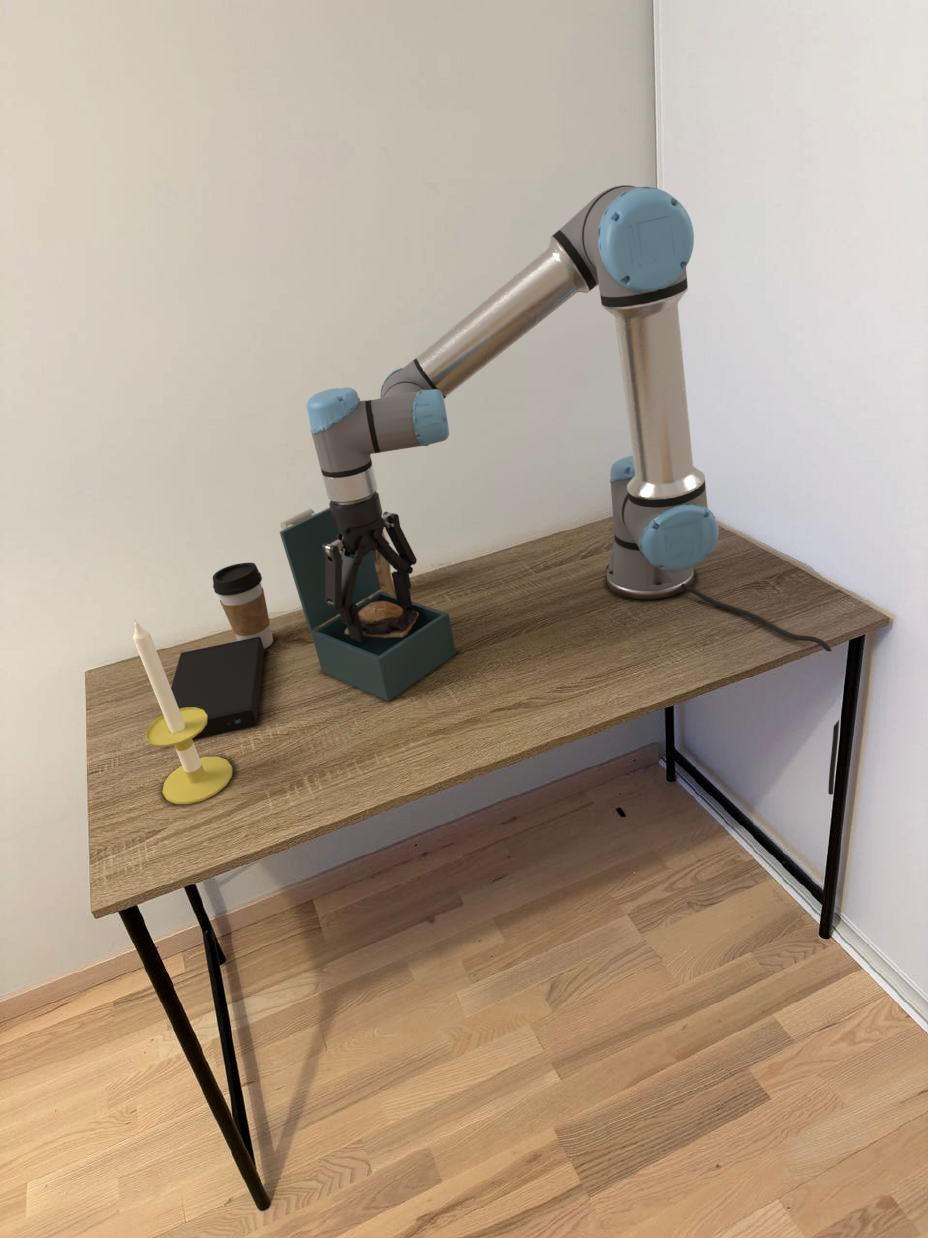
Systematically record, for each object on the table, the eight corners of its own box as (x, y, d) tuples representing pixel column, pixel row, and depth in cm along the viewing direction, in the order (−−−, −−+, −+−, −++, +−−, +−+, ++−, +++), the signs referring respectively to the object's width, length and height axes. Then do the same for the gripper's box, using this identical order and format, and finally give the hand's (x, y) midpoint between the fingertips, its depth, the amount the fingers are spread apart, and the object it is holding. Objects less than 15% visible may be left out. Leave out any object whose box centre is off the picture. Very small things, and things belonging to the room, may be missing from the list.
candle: (191, 754, 126) (130, 597, 113) (246, 762, 123) (189, 601, 109) (148, 798, 119) (77, 636, 105) (205, 809, 115) (138, 642, 102)
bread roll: (342, 638, 135) (337, 618, 133) (363, 611, 142) (358, 592, 140) (403, 640, 131) (399, 619, 129) (421, 612, 138) (417, 593, 136)
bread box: (456, 653, 140) (448, 613, 136) (388, 701, 131) (378, 659, 127) (388, 629, 151) (380, 591, 147) (321, 671, 141) (310, 632, 137)
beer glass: (406, 594, 161) (391, 523, 154) (375, 608, 158) (358, 536, 151) (388, 583, 166) (373, 513, 159) (358, 596, 163) (341, 526, 156)
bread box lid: (357, 495, 138) (327, 490, 143) (282, 532, 129) (252, 525, 134) (381, 589, 146) (351, 580, 152) (311, 630, 137) (282, 620, 142)
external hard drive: (264, 650, 150) (260, 636, 149) (257, 725, 130) (251, 710, 129) (185, 667, 150) (179, 653, 148) (165, 745, 129) (158, 729, 128)
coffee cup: (269, 656, 149) (245, 581, 141) (226, 656, 151) (200, 582, 143) (287, 631, 156) (265, 558, 148) (245, 632, 158) (222, 560, 150)
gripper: (391, 466, 135) (415, 588, 145) (277, 520, 121) (313, 650, 132) (423, 472, 130) (446, 598, 141) (309, 529, 116) (344, 663, 127)
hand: (382, 623), depth 136 cm, fingers closed on bread roll, 10 cm apart
